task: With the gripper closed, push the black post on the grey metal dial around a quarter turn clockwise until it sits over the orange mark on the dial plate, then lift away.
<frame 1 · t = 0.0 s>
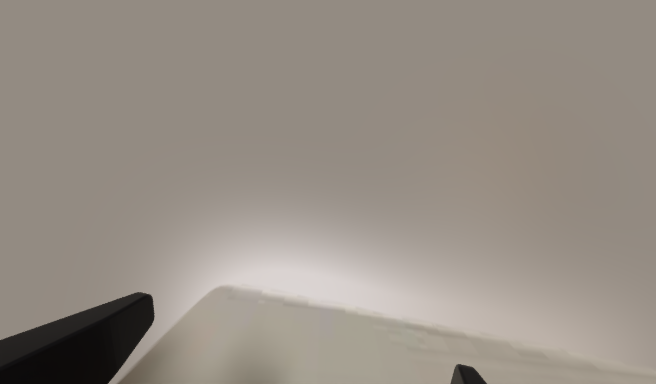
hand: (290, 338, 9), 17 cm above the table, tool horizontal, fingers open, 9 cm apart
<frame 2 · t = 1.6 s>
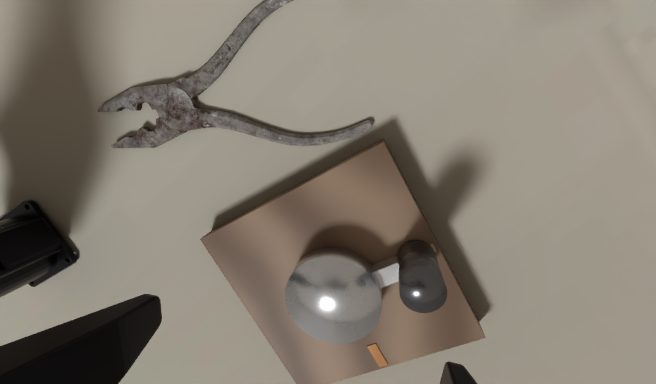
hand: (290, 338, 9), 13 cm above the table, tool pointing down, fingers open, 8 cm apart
pliers: (238, 112, 22), on the table
dial plate: (339, 275, 23), on the table
dial knob: (358, 296, 19), point 4 cm above the table, hinge at 0.0°
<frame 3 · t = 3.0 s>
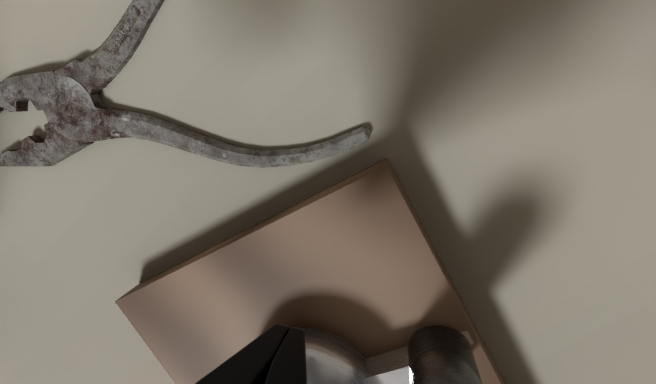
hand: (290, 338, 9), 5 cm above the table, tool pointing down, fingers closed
pliers: (165, 114, 14), on the table
dial plate: (320, 355, 16), on the table
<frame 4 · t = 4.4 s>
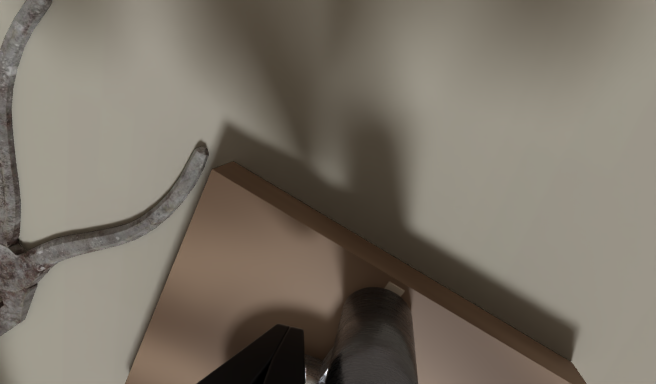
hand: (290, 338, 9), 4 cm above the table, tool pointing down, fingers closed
pliers: (72, 230, 16), on the table
dial plate: (311, 378, 14), on the table
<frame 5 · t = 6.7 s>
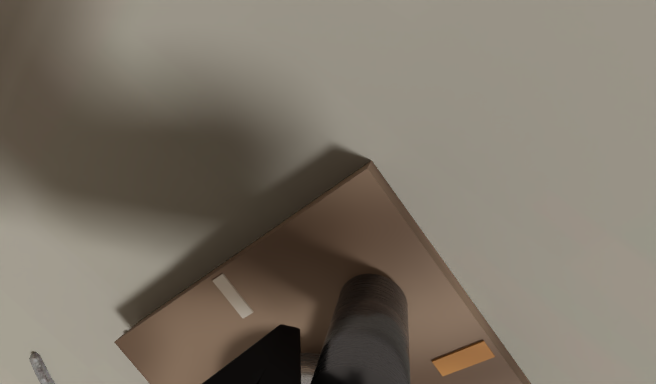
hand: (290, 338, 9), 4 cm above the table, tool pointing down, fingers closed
dial plate: (332, 380, 14), on the table
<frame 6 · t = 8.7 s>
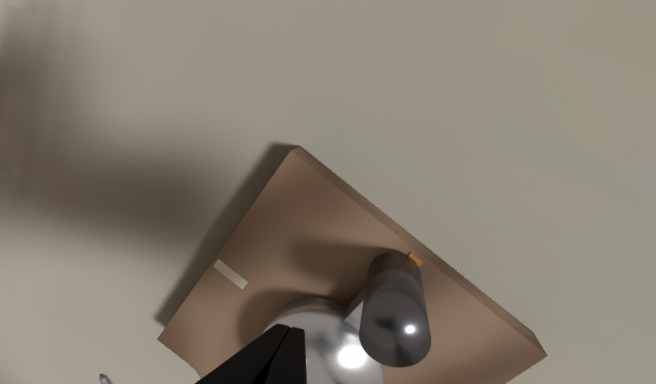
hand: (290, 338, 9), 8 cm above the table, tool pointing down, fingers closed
dial plate: (328, 327, 18), on the table
dial knob: (337, 359, 14), point 4 cm above the table, hinge at -87.7°
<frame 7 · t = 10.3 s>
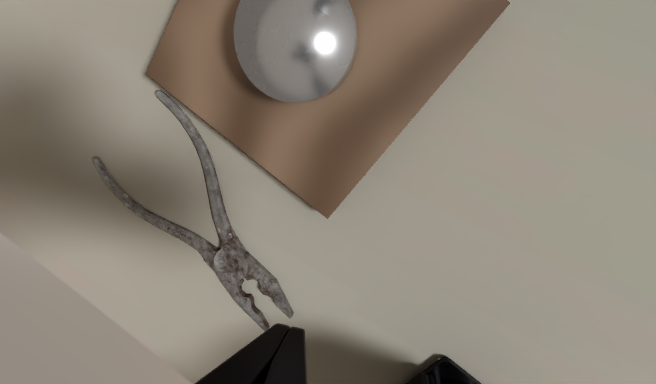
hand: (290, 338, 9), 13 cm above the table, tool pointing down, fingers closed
pliers: (216, 211, 24), on the table
dial plate: (309, 47, 19), on the table
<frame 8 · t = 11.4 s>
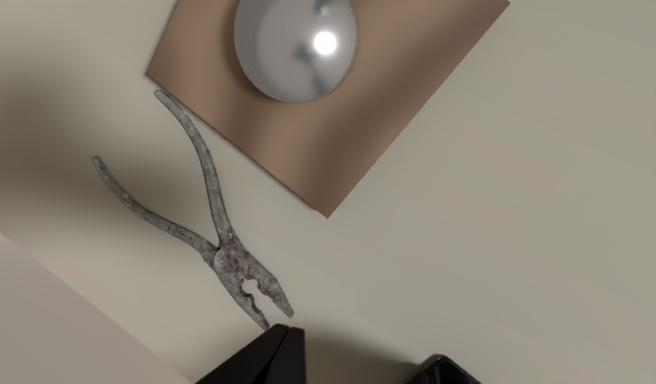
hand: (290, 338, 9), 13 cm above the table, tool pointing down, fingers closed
pliers: (216, 211, 24), on the table
dial plate: (309, 47, 19), on the table
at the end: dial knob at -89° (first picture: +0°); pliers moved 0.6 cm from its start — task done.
